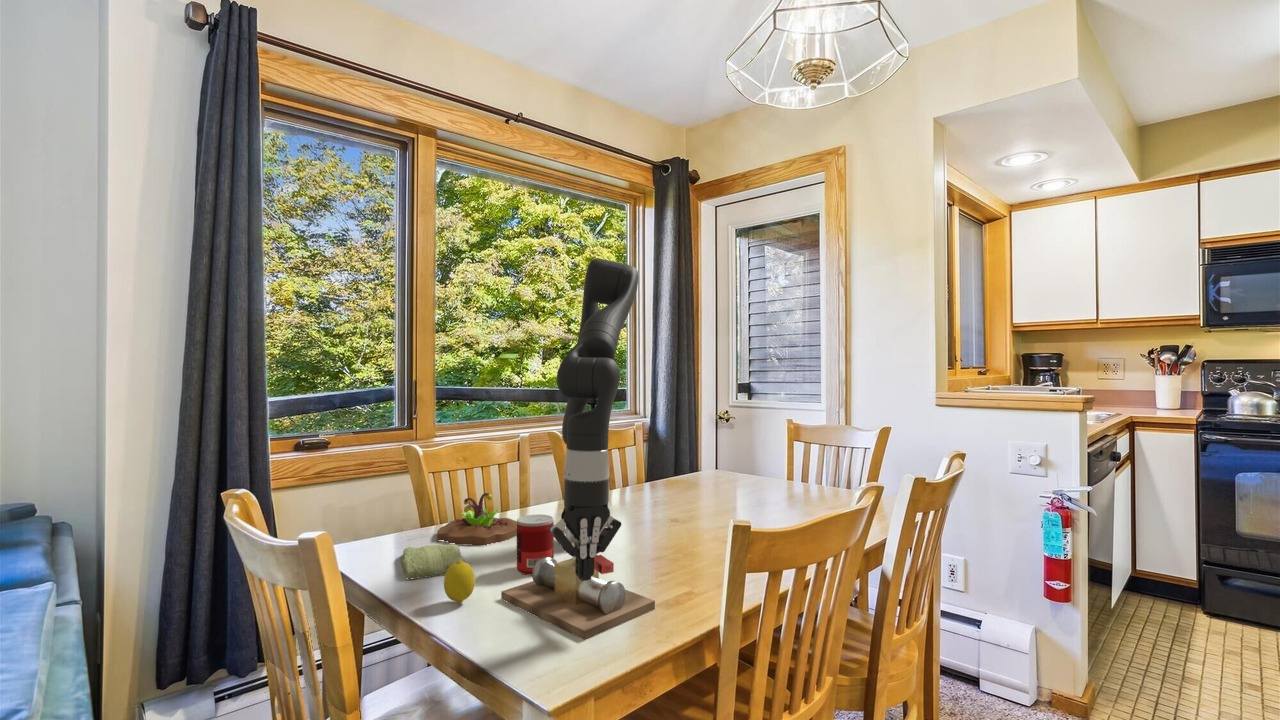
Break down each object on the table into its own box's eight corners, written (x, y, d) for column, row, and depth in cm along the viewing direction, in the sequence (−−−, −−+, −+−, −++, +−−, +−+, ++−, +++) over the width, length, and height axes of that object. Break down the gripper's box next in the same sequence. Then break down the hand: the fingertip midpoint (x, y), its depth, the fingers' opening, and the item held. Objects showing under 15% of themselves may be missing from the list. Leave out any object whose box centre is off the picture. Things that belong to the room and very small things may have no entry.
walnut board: (501, 599, 112) (501, 591, 112) (570, 576, 125) (570, 569, 125) (584, 640, 96) (584, 630, 96) (654, 608, 108) (654, 600, 108)
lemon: (457, 612, 106) (458, 567, 106) (437, 605, 109) (437, 562, 109) (481, 601, 111) (481, 559, 111) (460, 595, 114) (461, 554, 114)
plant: (492, 550, 143) (492, 503, 143) (424, 542, 149) (424, 497, 149) (531, 528, 162) (532, 487, 162) (470, 522, 168) (470, 483, 168)
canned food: (560, 568, 129) (560, 518, 129) (530, 578, 123) (531, 525, 123) (539, 560, 134) (539, 512, 135) (509, 569, 129) (509, 518, 129)
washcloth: (458, 551, 142) (458, 537, 143) (467, 575, 126) (467, 560, 126) (399, 558, 137) (399, 544, 137) (401, 584, 121) (401, 568, 121)
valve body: (531, 588, 115) (532, 544, 115) (554, 581, 119) (554, 538, 119) (602, 620, 101) (602, 569, 101) (625, 610, 105) (625, 561, 105)
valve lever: (567, 550, 111) (567, 542, 111) (580, 548, 112) (580, 540, 112) (600, 574, 98) (600, 565, 98) (615, 571, 100) (615, 562, 100)
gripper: (558, 482, 93) (555, 593, 93) (631, 476, 100) (629, 579, 99) (541, 474, 100) (539, 578, 99) (611, 469, 106) (609, 566, 106)
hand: (584, 578), depth 99 cm, fingers closed
